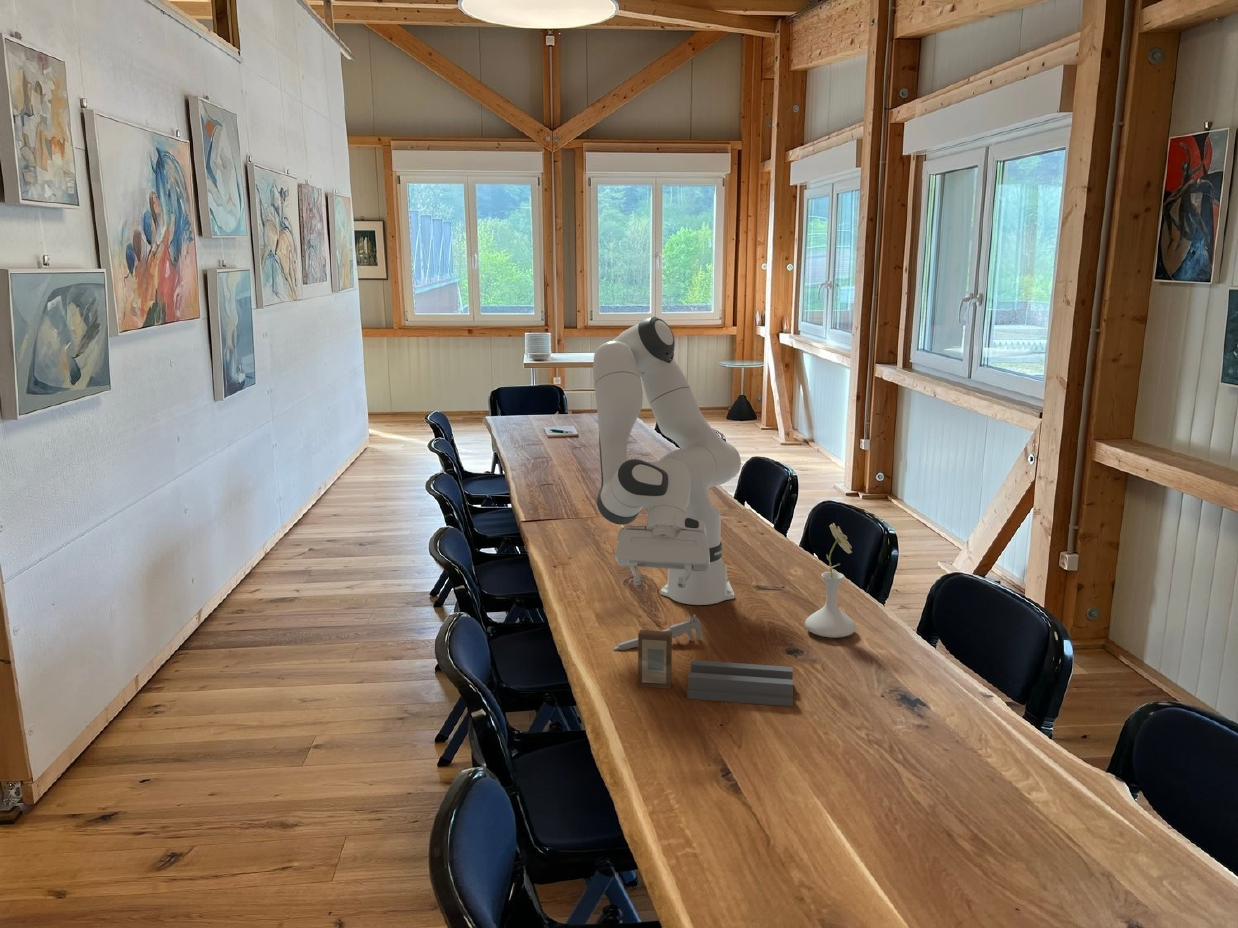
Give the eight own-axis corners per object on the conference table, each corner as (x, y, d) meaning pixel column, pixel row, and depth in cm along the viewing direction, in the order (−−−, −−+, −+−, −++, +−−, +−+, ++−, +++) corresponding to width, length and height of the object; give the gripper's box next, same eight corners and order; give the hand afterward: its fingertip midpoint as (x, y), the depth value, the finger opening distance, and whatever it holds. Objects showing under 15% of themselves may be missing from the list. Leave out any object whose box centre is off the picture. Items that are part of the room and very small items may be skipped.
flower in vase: (856, 644, 200) (862, 535, 195) (804, 640, 202) (809, 532, 197) (853, 622, 212) (859, 519, 207) (804, 618, 214) (808, 517, 209)
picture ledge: (692, 676, 184) (692, 657, 183) (791, 683, 181) (792, 664, 180) (687, 698, 174) (687, 679, 174) (792, 706, 171) (793, 686, 170)
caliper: (699, 639, 203) (700, 613, 202) (701, 641, 202) (701, 614, 201) (612, 650, 198) (612, 623, 196) (614, 652, 197) (613, 625, 195)
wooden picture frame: (639, 680, 182) (640, 629, 180) (671, 683, 181) (671, 631, 179) (638, 686, 180) (638, 634, 177) (669, 688, 178) (670, 636, 176)
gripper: (617, 517, 196) (608, 575, 188) (711, 522, 192) (706, 581, 185) (621, 532, 201) (612, 588, 194) (713, 537, 197) (707, 594, 190)
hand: (659, 585), depth 189 cm, fingers open, 8 cm apart
